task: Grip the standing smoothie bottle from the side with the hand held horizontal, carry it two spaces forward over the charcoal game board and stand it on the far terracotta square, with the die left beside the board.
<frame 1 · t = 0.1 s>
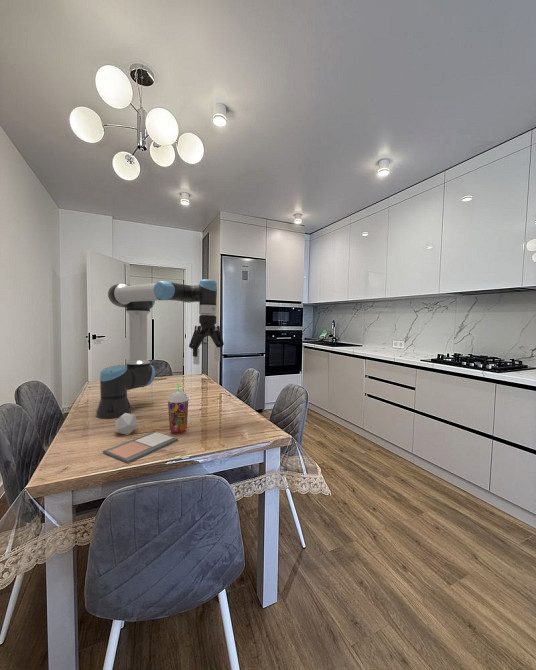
hand: (207, 362, 128), 28 cm above the table, tool pointing down, fingers open, 13 cm apart
smoothie: (178, 432, 119), on the table
die: (126, 433, 117), on the table
game board: (142, 446, 105), on the table
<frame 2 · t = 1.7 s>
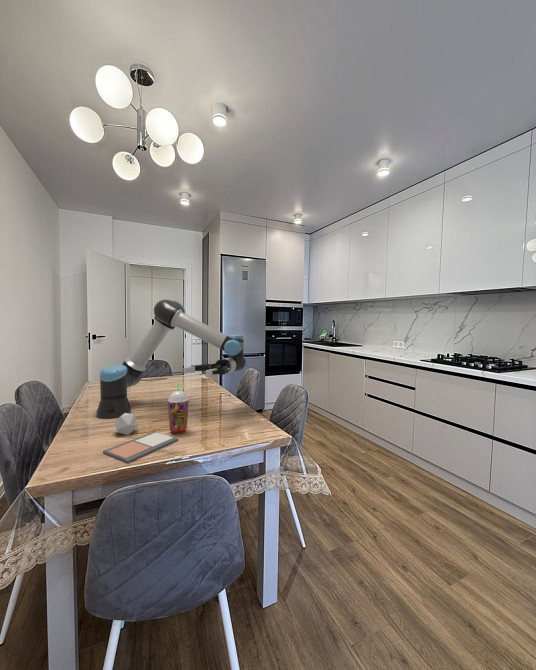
hand: (195, 372, 127), 24 cm above the table, tool horizontal, fingers open, 13 cm apart
nothing on the table moved.
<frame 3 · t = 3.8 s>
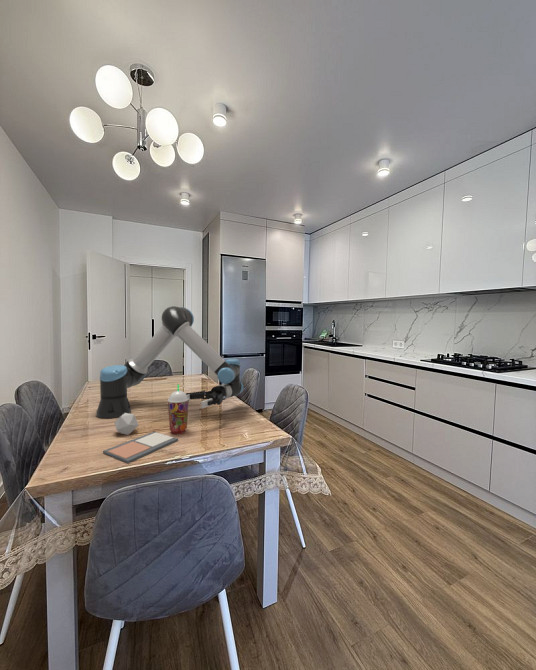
hand: (189, 402, 124), 11 cm above the table, tool horizontal, fingers open, 13 cm apart
nothing on the table moved.
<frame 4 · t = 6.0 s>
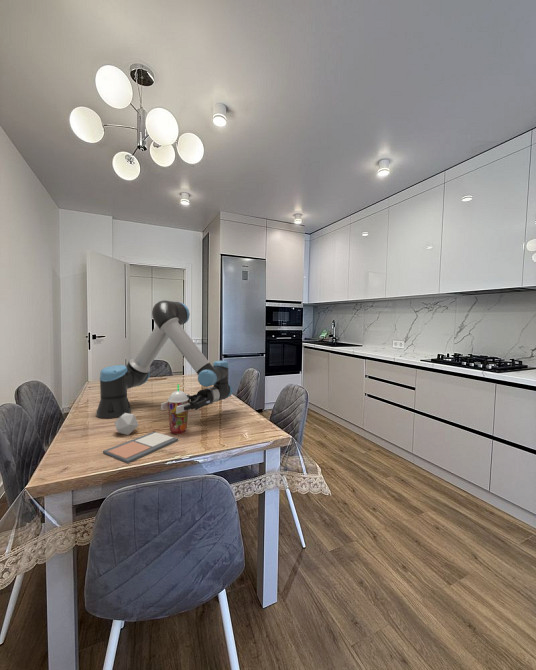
hand: (169, 408, 115), 11 cm above the table, tool horizontal, fingers closed on smoothie, 8 cm apart
smoothie: (178, 432, 119), on the table, touching gripper
everything else where it was.
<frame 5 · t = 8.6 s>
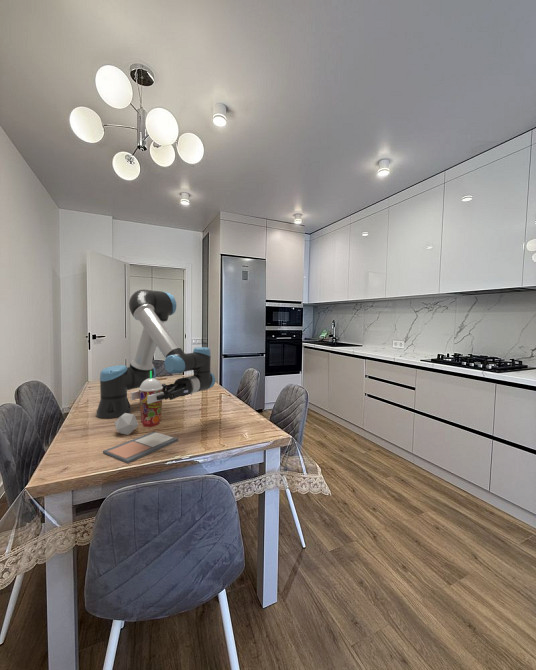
hand: (139, 398, 101), 19 cm above the table, tool horizontal, fingers closed on smoothie, 8 cm apart
smoothie: (151, 425, 106), point 8 cm above the table, touching gripper
everything else where it was.
when the fingers open (13 cm above the table, at t = 11.0 s): smoothie drops 1 cm, resting on game board.
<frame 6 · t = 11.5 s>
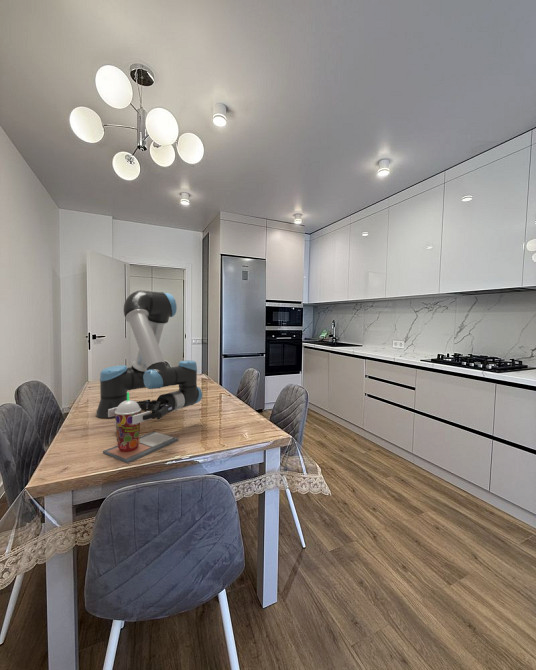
hand: (120, 416, 97), 13 cm above the table, tool horizontal, fingers open, 13 cm apart
smoothie: (128, 449, 100), point 1 cm above the table, touching game board
everything else where it was.
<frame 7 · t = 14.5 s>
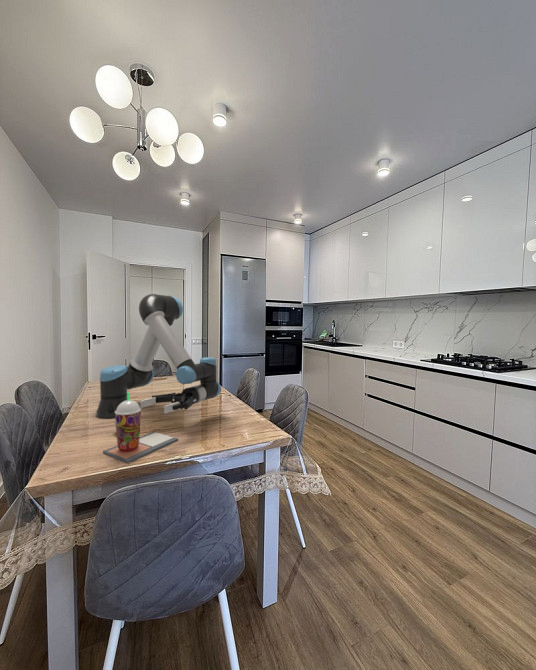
hand: (152, 407, 108), 14 cm above the table, tool horizontal, fingers open, 13 cm apart
nothing on the table moved.
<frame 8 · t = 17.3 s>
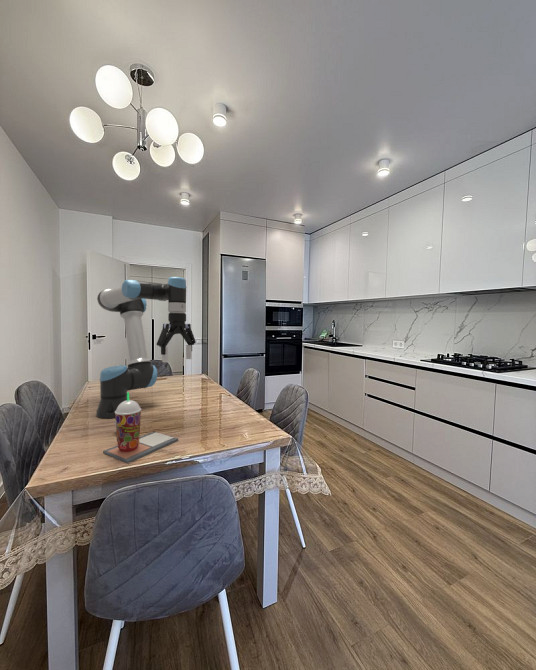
hand: (177, 360, 127), 29 cm above the table, tool pointing down, fingers open, 13 cm apart
nothing on the table moved.
at the end: smoothie inside the target area (0.6 cm from its centre), point 0.8 cm above the table; smoothie tilted 0°; the gripper is holding nothing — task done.
